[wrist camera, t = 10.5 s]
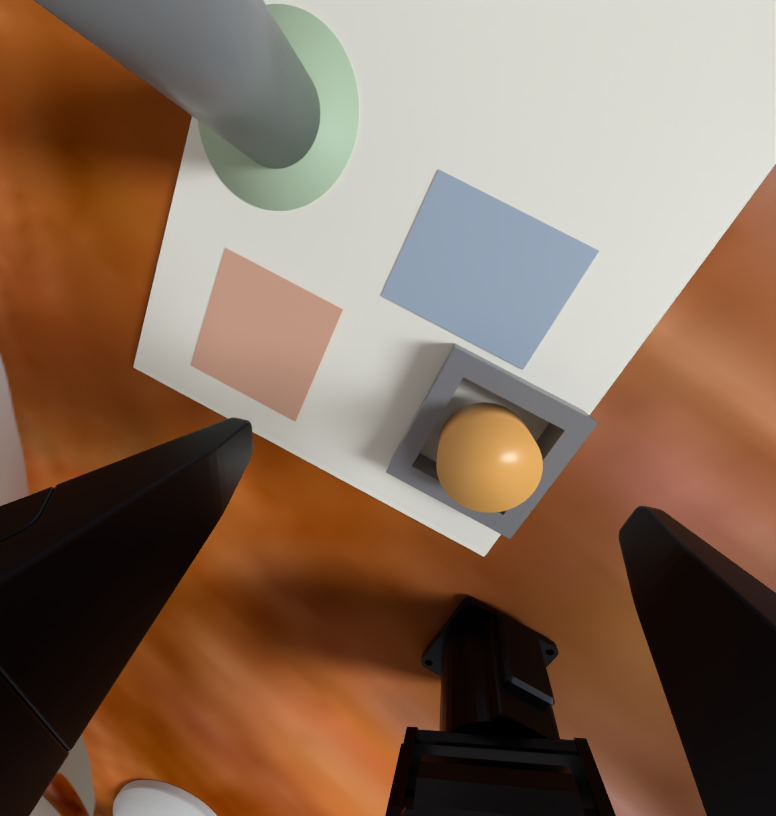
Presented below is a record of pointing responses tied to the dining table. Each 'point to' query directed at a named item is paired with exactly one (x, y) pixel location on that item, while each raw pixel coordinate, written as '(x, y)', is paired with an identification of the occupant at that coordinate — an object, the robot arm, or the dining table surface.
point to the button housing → (564, 418)
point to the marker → (211, 67)
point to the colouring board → (459, 216)
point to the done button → (488, 458)
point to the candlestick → (157, 801)
